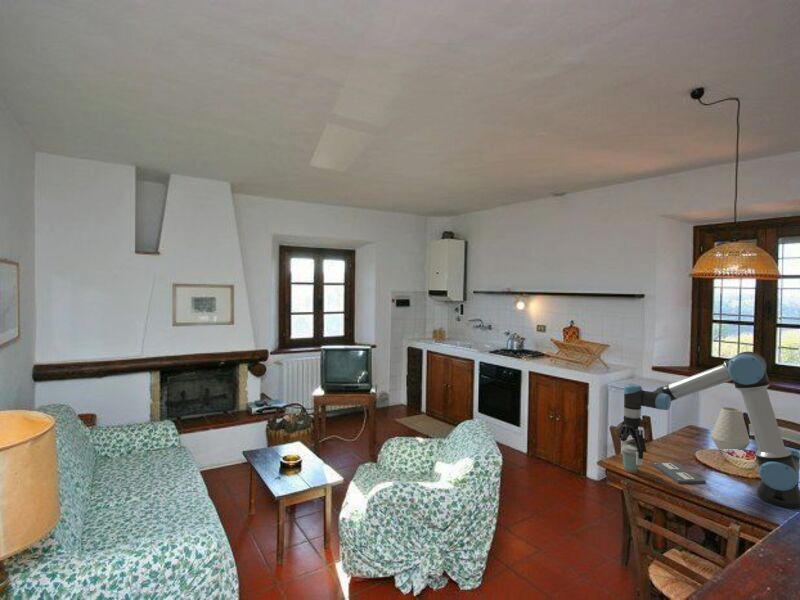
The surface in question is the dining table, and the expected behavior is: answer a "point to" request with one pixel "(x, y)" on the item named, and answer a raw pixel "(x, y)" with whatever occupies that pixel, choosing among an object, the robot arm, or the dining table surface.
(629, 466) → the coffee cup
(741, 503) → the dining table surface
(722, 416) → the vase
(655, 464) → the board
